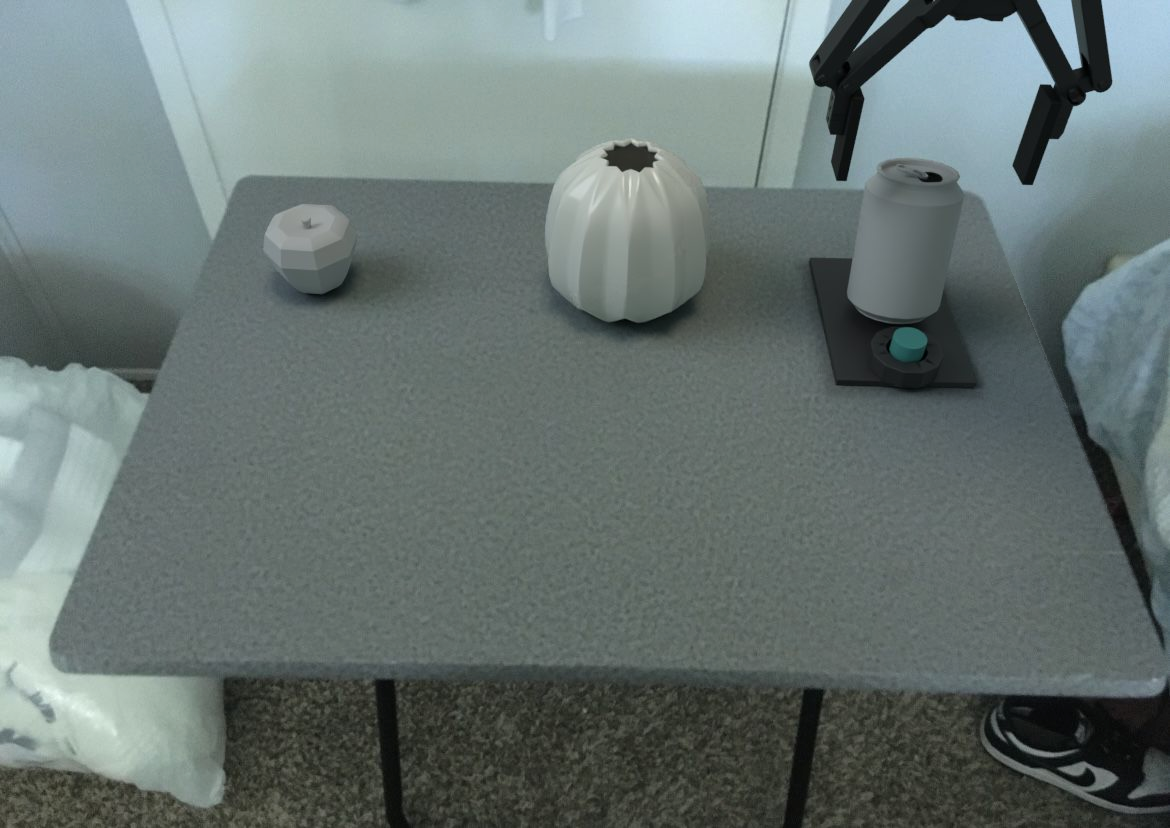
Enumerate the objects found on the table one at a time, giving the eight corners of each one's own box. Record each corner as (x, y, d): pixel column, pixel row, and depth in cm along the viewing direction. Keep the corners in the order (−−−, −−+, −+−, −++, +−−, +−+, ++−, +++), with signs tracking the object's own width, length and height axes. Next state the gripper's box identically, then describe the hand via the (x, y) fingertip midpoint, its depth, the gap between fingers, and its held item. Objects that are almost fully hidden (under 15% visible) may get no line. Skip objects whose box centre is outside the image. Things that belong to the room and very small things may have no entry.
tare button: (926, 364, 80) (930, 349, 79) (892, 363, 80) (897, 348, 79) (919, 341, 82) (923, 327, 81) (886, 341, 82) (890, 326, 81)
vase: (549, 243, 94) (547, 108, 85) (701, 247, 94) (716, 113, 84) (539, 342, 84) (535, 202, 75) (709, 347, 84) (727, 208, 75)
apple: (268, 263, 92) (252, 199, 87) (357, 247, 93) (346, 184, 89) (278, 318, 86) (261, 254, 82) (372, 300, 88) (361, 237, 83)
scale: (977, 394, 81) (985, 374, 79) (837, 391, 81) (842, 371, 79) (931, 265, 93) (937, 245, 91) (808, 262, 93) (812, 242, 91)
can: (936, 335, 82) (968, 189, 76) (840, 320, 84) (864, 176, 77) (939, 297, 88) (969, 159, 82) (849, 283, 90) (873, 148, 83)
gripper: (1202, -154, 64) (1082, 150, 79) (801, -162, 64) (757, 143, 79) (1255, -114, 59) (1116, 204, 74) (818, -122, 59) (767, 197, 74)
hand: (930, 173), depth 76 cm, fingers open, 13 cm apart
